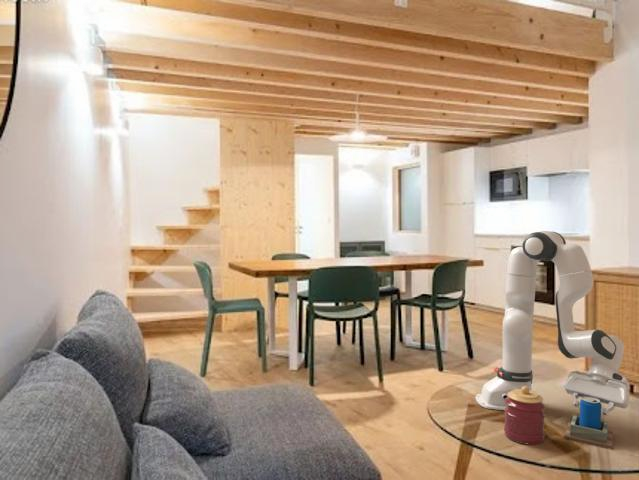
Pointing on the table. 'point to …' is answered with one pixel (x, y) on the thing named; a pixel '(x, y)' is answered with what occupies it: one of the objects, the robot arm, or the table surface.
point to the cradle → (589, 433)
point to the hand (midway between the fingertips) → (590, 410)
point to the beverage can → (590, 413)
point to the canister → (524, 416)
